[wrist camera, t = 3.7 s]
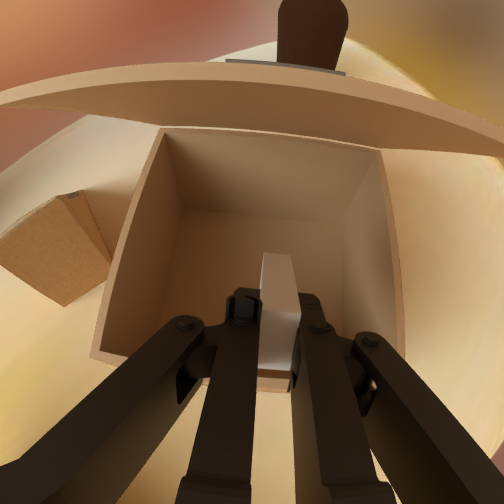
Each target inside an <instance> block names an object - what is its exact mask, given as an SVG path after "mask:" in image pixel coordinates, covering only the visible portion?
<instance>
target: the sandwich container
mask: <svg viewBox="0 0 504 504" xmlns="http://www.w3.org/2000/svg"><path fill="white" fill-rule="evenodd" d="M111 263H112V258H111V256H110V254H109V251H108V249H107V247H106V244H105V242H104V239H103V237H102V235H101V232H100V230H99V228H98V226H97V224H96V222H95V220H94V217H93V215H92V213H91V211H90V209H89V206H88V204H87V202H86V200H85V197H84V195H83V193H82V190H79V191H76V192H73V193H69V194H66V195H58V196H55V197H53V198H51V199H50V200H48V201H47V202H45V203H43V204H42V205H40V206H38V207H37V208H35V209H34V210H32V211H30V212H29V213H27V214H26V215H24V216H23V217H21V218H20V219H18V220H17V221H16V222H15V223H13V224H12V225H11V226H10V227H9V228H8V229H6V230H5V231H4V232H3V233H2V234H1V235H0V265H1V266H3V267H4V268H6V269H7V270H8V271H10V272H11V273H13V274H14V275H15V276H17V277H18V278H20V279H21V280H23V281H24V282H25V283H27V284H28V285H30V286H31V287H33V288H34V289H36V290H37V291H39V292H40V293H42V294H44V295H45V296H47V297H48V298H50V299H52V300H53V301H55V302H57V303H58V304H60V305H62V306H63V307H65V306H67V305H68V304H70V303H71V302H73V301H74V300H76V299H77V298H79V297H80V296H82V295H83V294H85V293H86V292H88V291H89V290H91V289H93V288H94V287H96V286H97V285H99V284H100V283H102V282H103V281H105V280H107V278H108V274H109V271H110V267H111Z"/></svg>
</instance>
